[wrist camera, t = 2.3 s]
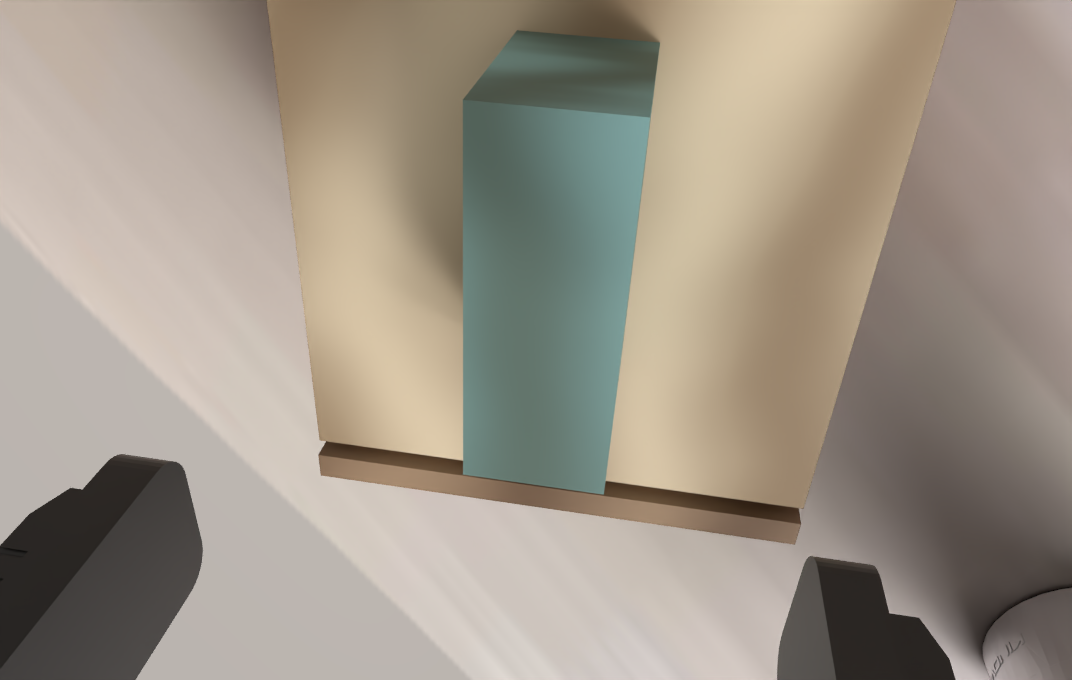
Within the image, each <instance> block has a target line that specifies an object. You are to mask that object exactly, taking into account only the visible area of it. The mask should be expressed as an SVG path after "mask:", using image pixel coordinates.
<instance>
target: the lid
mask: <svg viewBox="0 0 1072 680" xmlns="http://www.w3.org/2000/svg"><path fill="white" fill-rule="evenodd" d="M955 4H956V0H267V8H268V16H269V24H270V33H271V41H272V49H273V58H274V66H275V74H276V82H277V91H278V99H279V107H280V116H281V124H282V132H283V140H284V149H285V157H286V165H287V174H288V182H289V190H290V198H291V207H292V215H293V223H294V232H295V240H296V248H297V256H298V265H299V273H300V281H301V290H302V298H303V306H304V314H305V323H306V331H307V339H308V348H309V356H310V364H311V372H312V381H313V389H314V397H315V406H316V414H317V422H318V431H319V439H320V440H321V441H328V442H335V443H342V444H349V445H356V446H363V447H371V448H378V449H385V450H392V451H399V452H406V453H413V454H420V455H427V456H434V457H441V458H448V459H455V460H462V461H463V475H470V476H477V477H484V478H491V479H498V480H505V481H512V482H519V483H526V484H533V485H540V486H547V487H554V488H561V489H568V490H575V491H582V492H588V493H595V494H602V495H604V489H605V481H611V482H618V483H625V484H632V485H639V486H646V487H653V488H660V489H667V490H674V491H681V492H688V493H696V494H703V495H710V496H717V497H724V498H731V499H738V500H745V501H752V502H759V503H766V504H773V505H780V506H787V507H794V508H801V509H803V508H804V505H805V502H806V498H807V495H808V492H809V488H810V485H811V482H812V478H813V475H814V472H815V469H816V465H817V462H818V459H819V455H820V452H821V449H822V445H823V442H824V439H825V435H826V432H827V429H828V425H829V422H830V419H831V415H832V412H833V409H834V405H835V402H836V399H837V395H838V392H839V389H840V385H841V382H842V379H843V376H844V372H845V369H846V366H847V362H848V359H849V356H850V352H851V349H852V346H853V342H854V339H855V336H856V332H857V329H858V326H859V322H860V319H861V316H862V312H863V309H864V306H865V302H866V299H867V296H868V293H869V289H870V286H871V283H872V279H873V276H874V273H875V269H876V266H877V263H878V259H879V256H880V253H881V249H882V246H883V243H884V239H885V236H886V233H887V229H888V226H889V223H890V219H891V216H892V213H893V210H894V206H895V203H896V200H897V196H898V193H899V190H900V186H901V183H902V180H903V176H904V173H905V170H906V166H907V163H908V160H909V156H910V153H911V150H912V146H913V143H914V140H915V136H916V133H917V130H918V127H919V123H920V120H921V117H922V113H923V110H924V107H925V103H926V100H927V97H928V93H929V90H930V87H931V83H932V80H933V77H934V73H935V70H936V67H937V63H938V60H939V57H940V53H941V50H942V47H943V44H944V40H945V37H946V34H947V30H948V27H949V24H950V20H951V17H952V14H953V10H954V7H955Z"/></svg>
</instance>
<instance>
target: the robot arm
mask: <svg viewBox="0 0 1072 680" xmlns="http://www.w3.org/2000/svg"><path fill="white" fill-rule="evenodd" d="M202 552H203V548H202V540H201V536H200V532H199V528H198V524H197V520H196V516H195V512H194V507H193V503H192V499H191V495H190V491H189V486H188V482H187V478H186V474H185V471H184V470H183V467H182V466H181V465H180V464H179V463H177V462H173V461H166V460H159V459H152V458H145V457H138V456H131V455H125V454H120V455H117V456H114V457H113V458H111V459H110V460H109V461H108V462H107V463H106V464H105V465H104V466H103V467H102V468H101V469H100V471H99V472H98V473H97V474H96V475H95V476H94V477H93V478H92V480H91V481H90V482H89V483H88V484H87V485H86V486H85V487H84V489H83V490H81V489H74V488H70V489H68V490H67V491H65V492H64V493H62V494H60V495H59V496H57V497H56V498H54V499H52V500H51V501H49V502H48V503H46V504H45V505H43V506H42V507H40V508H38V509H37V510H35V511H34V512H32V513H30V514H29V515H28V516H27V517H26V518H25V519H24V521H23V522H22V523H21V524H20V525H19V526H18V527H17V528H16V529H15V530H14V531H13V532H12V533H11V535H10V536H9V537H8V538H7V539H6V540H5V541H4V542H3V543H2V544H1V545H0V680H135V679H136V678H137V676H138V675H139V673H140V672H141V670H142V668H143V667H144V665H145V664H146V662H147V661H148V659H149V657H150V656H151V654H152V653H153V651H154V649H155V648H156V646H157V645H158V643H159V642H160V640H161V638H162V637H163V635H164V634H165V632H166V630H167V629H168V627H169V625H170V624H171V623H172V621H173V619H174V618H175V616H176V615H177V613H178V612H179V610H180V608H181V607H182V605H183V604H184V602H185V600H186V599H187V597H188V595H189V594H190V592H191V591H192V589H193V587H194V585H195V583H196V580H197V578H198V575H199V571H200V567H201V563H202ZM983 659H984V662H985V665H986V668H987V671H988V674H989V677H990V680H1072V588H1067V589H1060V590H1056V591H1052V592H1048V593H1044V594H1041V595H1038V596H1036V597H1033V598H1031V599H1028V600H1026V601H1023V602H1021V603H1020V604H1018V605H1016V606H1015V607H1013V608H1011V609H1010V610H1008V611H1007V612H1005V613H1004V614H1003V615H1002V616H1001V617H1000V618H999V619H997V620H996V621H995V622H994V624H993V625H992V627H991V628H990V629H989V631H988V632H987V634H986V637H985V640H984V643H983ZM777 680H955V676H954V673H953V670H952V666H951V663H950V660H949V658H948V657H947V655H946V654H945V653H944V651H943V650H942V648H941V647H940V646H939V644H938V643H937V642H936V640H935V639H934V638H933V636H932V635H931V634H930V632H929V631H928V629H927V628H926V627H925V625H924V624H923V623H922V621H921V620H920V619H919V618H916V617H909V616H902V615H896V614H889V611H888V607H887V603H886V598H885V594H884V590H883V586H882V582H881V578H880V575H879V573H878V570H877V569H876V567H875V566H873V565H868V564H861V563H854V562H847V561H840V560H833V559H827V558H820V557H813V556H810V557H808V559H807V560H806V562H805V564H804V567H803V570H802V573H801V576H800V579H799V582H798V586H797V589H796V592H795V595H794V598H793V601H792V604H791V608H790V611H789V614H788V617H787V620H786V623H785V626H784V630H783V633H782V636H781V641H780V646H779V654H778V668H777Z"/></svg>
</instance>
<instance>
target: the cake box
mask: <svg viewBox="0 0 1072 680" xmlns="http://www.w3.org/2000/svg"><path fill="white" fill-rule="evenodd" d="M318 456H319V464H320V472H321V475H322V476H329V477H336V478H343V479H350V480H356V481H363V482H370V483H377V484H384V485H391V486H397V487H404V488H411V489H418V490H425V491H432V492H438V493H445V494H452V495H459V496H466V497H473V498H480V499H486V500H493V501H500V502H507V503H514V504H521V505H527V506H534V507H541V508H548V509H555V510H562V511H569V512H575V513H582V514H589V515H596V516H603V517H610V518H616V519H623V520H630V521H637V522H644V523H651V524H658V525H664V526H671V527H678V528H685V529H692V530H699V531H705V532H712V533H719V534H726V535H733V536H740V537H746V538H753V539H760V540H767V541H774V542H781V543H788V544H794V545H795V542H796V539H797V536H798V533H799V529H800V526H801V521H800V514H799V508H794V507H787V506H780V505H773V504H766V503H759V502H752V501H745V500H738V499H731V498H724V497H717V496H710V495H703V494H696V493H688V492H681V491H674V490H667V489H660V488H653V487H646V486H639V485H632V484H625V483H618V482H611V481H605V489H604V495H602V494H595V493H588V492H582V491H575V490H568V489H561V488H554V487H547V486H540V485H533V484H526V483H519V482H512V481H505V480H498V479H491V478H484V477H477V476H470V475H463V461H462V460H455V459H448V458H441V457H434V456H427V455H420V454H413V453H406V452H399V451H392V450H385V449H378V448H371V447H363V446H356V445H349V444H342V443H335V442H328V441H326V443H325V445H324V446H323V448H322V450H321V451H320V453H319V455H318Z"/></svg>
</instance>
